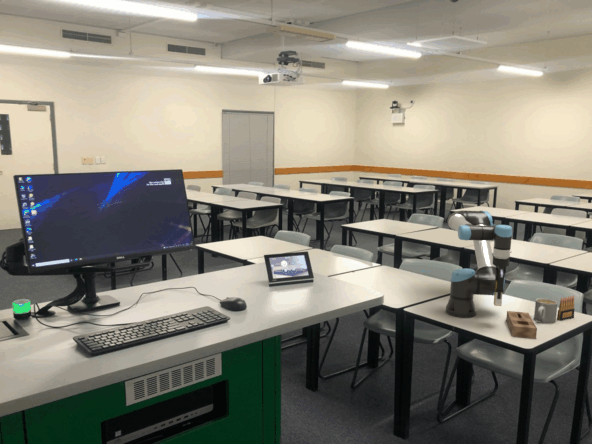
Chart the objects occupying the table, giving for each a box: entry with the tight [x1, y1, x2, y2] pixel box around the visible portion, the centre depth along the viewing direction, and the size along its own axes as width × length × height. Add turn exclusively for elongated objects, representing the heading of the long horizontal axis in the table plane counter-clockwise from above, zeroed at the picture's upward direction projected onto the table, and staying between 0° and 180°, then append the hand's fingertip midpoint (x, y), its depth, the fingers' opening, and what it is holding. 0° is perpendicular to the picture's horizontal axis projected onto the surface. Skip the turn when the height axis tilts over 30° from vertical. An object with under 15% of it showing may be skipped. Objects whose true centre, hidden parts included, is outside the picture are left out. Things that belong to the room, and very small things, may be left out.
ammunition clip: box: [556, 295, 575, 322], centre depth 257 cm, size 11×2×12 cm, turn 116°
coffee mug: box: [533, 297, 558, 324], centre depth 254 cm, size 13×10×10 cm
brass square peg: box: [493, 280, 503, 307], centre depth 244 cm, size 3×3×12 cm
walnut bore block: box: [506, 310, 538, 339], centre depth 243 cm, size 10×22×5 cm, turn 165°
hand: (497, 303), depth 245 cm, fingers closed on brass square peg, 3 cm apart
